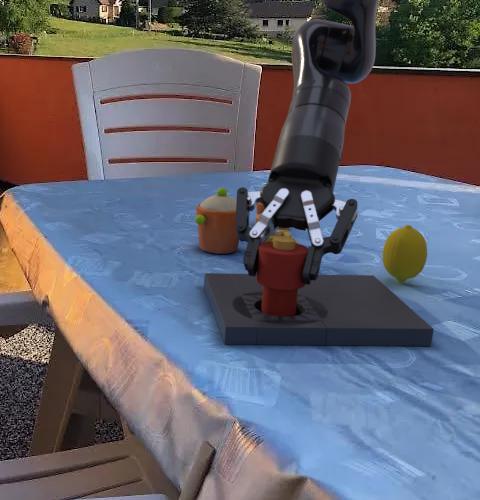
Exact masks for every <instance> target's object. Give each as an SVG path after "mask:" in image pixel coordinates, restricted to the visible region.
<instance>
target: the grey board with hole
mask: <svg viewBox="0 0 480 500" xmlns="http://www.w3.org/2000/svg"><path fill="white" fill-rule="evenodd" d="M256 278H257V273H256V276H249V274H248V273H225V272H224V273H221V272H219V273H217V272H215V273H213V272H208V273H207V272H205V273H204V278H203V290H204V292H205V296H206V298H207V300H208V303H209V306H210V309H211V311H212V314H213V316H214V320H215V322H216V325H217V328H218V330H219V333H220V336H221V339H222V341H223V343H224V345H235V346H236V345H237V346H238V345H241V346H243V345H245V346H253V345H254V346H255V345H259V346H260V345H261V346H263V345H268V346H373V347H377V346H379V347H381V346H383V347H387V346H388V347H394V346H395V347H432V343H433V337H434V327H432V325H430V324H429V323H428V322H427V321H426V320H424V319H423V318H422V317H421V316H420V315H419V314H418V313H417V312H415V311H414V310H413V309H412V308H411V307H410V306H409V305H408V304H407V303H405V302H404V301H403V299H401V298H400V297H399V296H397V294H396V293H394V292H393V291H392V290H391V289H390V288H388V286H386V285H385V284H384V283H383V282H382V281H381V280H380V279H378V278H377V277H376V276H375V275H373V274H319V275H318V278H317V279H316V280H311V283H310V285H307V284H306V285H305V286H304V287H303V288H300V289H298V292H297V303H296V313H295V316H274V315H269V314H266V313H263V312H261V307H262V294H263V286H262V285H260V284H259V283H258V282H257V280H256Z"/></svg>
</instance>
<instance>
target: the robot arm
mask: <svg viewBox="0 0 480 500" xmlns="http://www.w3.org/2000/svg"><path fill="white" fill-rule="evenodd" d="M320 3H321V5H323V6H324V7H325V8H327V9H328V10H330V11H332V12H335V13H336V14H339V15H340V16H343V17H344V18H346V19H348V20H349V22H350V23H351V24H352V25H351V24H346V23H342V22H341V23H340V22H335V21H330V20H324V19H316V18H315V19H309V20H307V21H305V22H303V24H301V25H300V26H299V27H298V28H297V30H296V31H295V33H294V36H293V38H292V43H291V51H290V52H291V53H290V54H291V66H292V73H293V92H292V97H291V100H290V105H289V108H288V111H287V116H286V119H285V121H284V123H283V126H282V128H281V131H280V134H279V138H278V141H277V146H276V149H275V153H274V156H273V159H272V164H271V167H270V171H269V175H268V178H267V182H266V183H265V184H264V185H265V186H264V185H263V186H264V187H263V186H262V187H263V188H261V190H257V191H255V190H254V191H248V188H246V187H244V186H242V187H239V188H238V189H237V191H236V200H237V202H236V222H235V228H236V232H237V235H238V239H239V242H242V243H243V242H246V243H247V245H246V249H245V252H244V256H243V261H242V262H243V265H244V269H245V271H247V274H249V276H256V274H257V265H258V251H259V245H260V244H262V243H264V242H266V240H267V239H268V238H269V236H272V235H273V234H274V233H275V232H276V230H277V229H278V228H279V227H280V228H289V229H290V228H292V229H294V230H298V231H307V236H308V239H309V241H310V245H309V246H308V247H307V248H308V252H307V256H306V261H305V265H304V269H303V275H302V279H303V284H307V285H310V283H311V280H316V279H317V278H318V275H320V270H321V265H322V261H323V257H324V256H325V255H326V254H330V253H332V254H333V255H339V254H341V253H342V251H343V249H344V247H345V245H346V242H347V240H348V239H349V236H350V234H351V231H352V230H353V227H354V225H355V222H356V221H357V218H358V214H359V213H358V212H359V211H358V207H359V206H358V201H357V199H355V198H349V199H347V200H346V201H345V200H342V199H341V200H340V199H338V198H336V196H335V194H334V191H335V186H336V181H337V176H338V172H339V167H340V163H341V160H342V157H343V154H344V153H343V149H344V143H345V132H346V131H345V130H346V125H347V120H348V116H349V111H350V107H351V101H352V92H351V89H350V87H349V85H348V84H357V83H359V82H361V81H363V80H364V79H366V78H367V77H368V75H369V74H370V73H371V71H372V70H373V68H374V66H375V61H376V56H377V55H376V51H377V40H376V39H377V38H376V34H377V33H376V22H377V20H376V18H377V11H378V9H377V8H378V3H379V0H320ZM259 202H262V204H263V205H264V207H265V210H264V211H263V213H262V214H261V215H260V218H259V221H258V222H257V223H256V222H255V224H254V225H253V227H250V216H251V215H250V213H251V212H254V210H255V209H256V204H257V203H259ZM332 211H335V218H336V220H337V221H336V223H335V225H334V228H333V230H332V232H331V234H330V236H325V237H324V236H323V233H322V230H321V229H322V228H321V224H320V221H322V220H323V219H324V218H326V216H327V215H329V214H330V213H332Z"/></svg>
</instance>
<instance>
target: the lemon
mask: <svg viewBox="0 0 480 500" xmlns="http://www.w3.org/2000/svg"><path fill="white" fill-rule="evenodd" d="M427 258H428V243H427V241H426V237H424V235H423V234H422V233H421V232H420V231H419V230H418V229H416V228H413V226H412V225H411V224H405V225H404V226H402V227H399V228H397V229H395V230H393V231H392V232H390V234H389V235H388V236H387V238H386V239H385V242H384V244H383V247H382V264H383V267H384V269H385V271H386V272H387V273H388V274H389V275H390V276H391V277H393V278H395V279H396V281H397V282H398V283H401V284H404V283H405V282H406V281H408V280H411V279H413V278H415V277H417V276H418V275H420V274H421V272H422V271H423V270H424V268H425V266H426V263H427V260H428V259H427Z"/></svg>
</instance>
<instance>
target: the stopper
mask: <svg viewBox="0 0 480 500" xmlns="http://www.w3.org/2000/svg"><path fill="white" fill-rule="evenodd" d="M296 242H297V240H296V238H295V237H292V236H291V237H288V236H277V237H274V238H273V241H270V242H264V243H262V244H260V245H259V251H258V265H257V273H256V274H257V278H256V280H257V282H258V283H259V284H260V285H262V286H263V294H262V307H261V312H263V313H266V314H269V315H274V316H295V313H296V303H297V292H298V289H300V288H303V287H304V286H305V285H306V284H303V279H302V275H303V269H304V265H305V261H306V256H307V252H308V247H307V246H306V245H303V244H302V243H301V244H300V243H298V244H297V243H296Z"/></svg>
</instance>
